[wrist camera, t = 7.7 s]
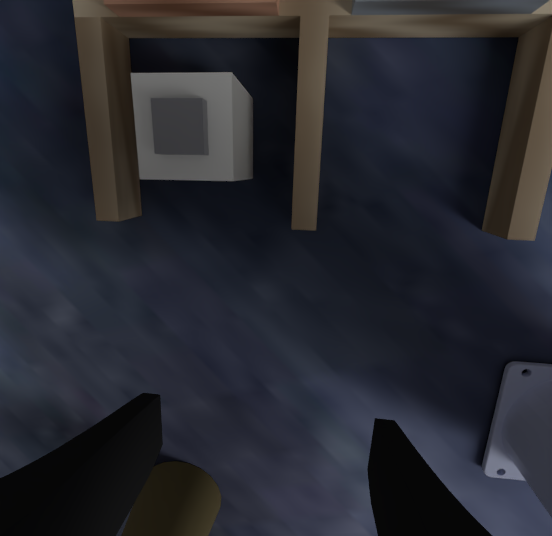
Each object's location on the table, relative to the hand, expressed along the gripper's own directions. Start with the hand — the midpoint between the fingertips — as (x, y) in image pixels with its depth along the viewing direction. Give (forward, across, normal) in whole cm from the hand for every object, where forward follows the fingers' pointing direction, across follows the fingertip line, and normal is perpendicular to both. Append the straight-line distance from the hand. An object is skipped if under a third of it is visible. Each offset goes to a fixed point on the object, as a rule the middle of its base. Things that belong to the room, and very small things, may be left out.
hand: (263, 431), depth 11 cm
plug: (+10, +4, -10) cm, 15 cm away
